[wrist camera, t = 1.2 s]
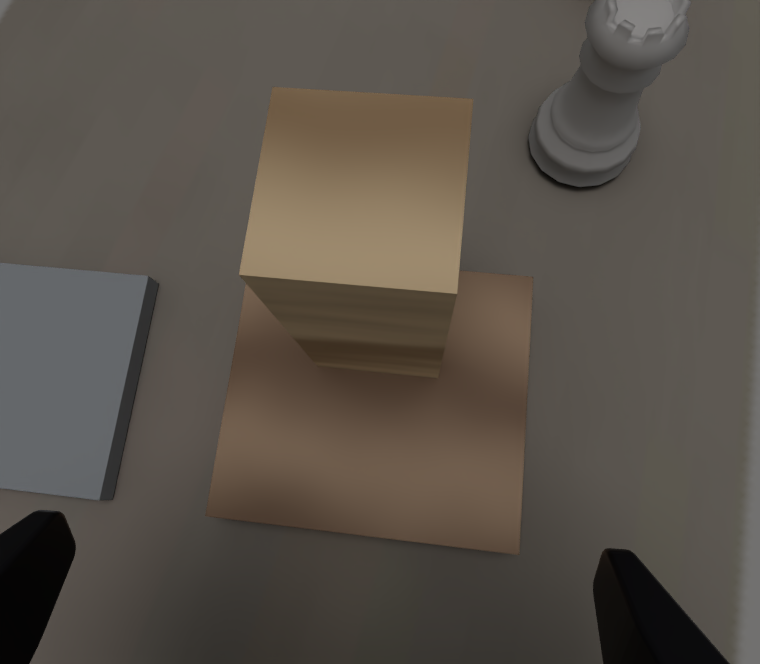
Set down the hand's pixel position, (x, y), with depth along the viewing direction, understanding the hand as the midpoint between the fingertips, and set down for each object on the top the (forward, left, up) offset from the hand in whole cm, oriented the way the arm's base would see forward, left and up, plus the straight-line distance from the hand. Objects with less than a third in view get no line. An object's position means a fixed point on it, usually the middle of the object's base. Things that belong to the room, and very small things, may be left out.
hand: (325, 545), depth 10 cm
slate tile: (+4, +15, -13) cm, 20 cm away
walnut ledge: (+4, 0, -13) cm, 14 cm away
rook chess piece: (+16, -7, -13) cm, 22 cm away
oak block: (+7, 0, -11) cm, 13 cm away
